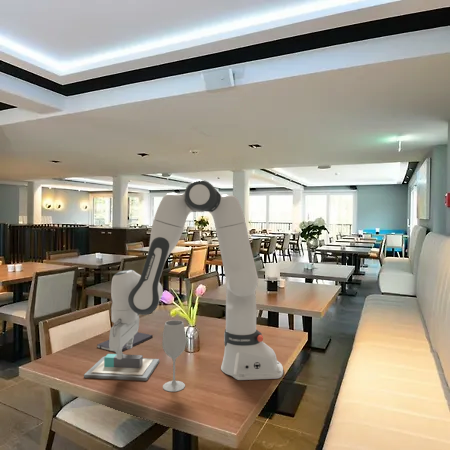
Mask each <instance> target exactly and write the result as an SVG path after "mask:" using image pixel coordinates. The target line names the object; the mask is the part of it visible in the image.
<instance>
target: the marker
mask: <svg viewBox="0 0 450 450" xmlns="http://www.w3.org/2000/svg"><path fill="white" fill-rule="evenodd" d="M143 358H144V356H143V354H142V355H141V354H125V353H123V358H122V359H117V354H116V353H107V354H106V355H105V356H104V367H120V368H140V367H141V366H142V365H143Z"/></svg>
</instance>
